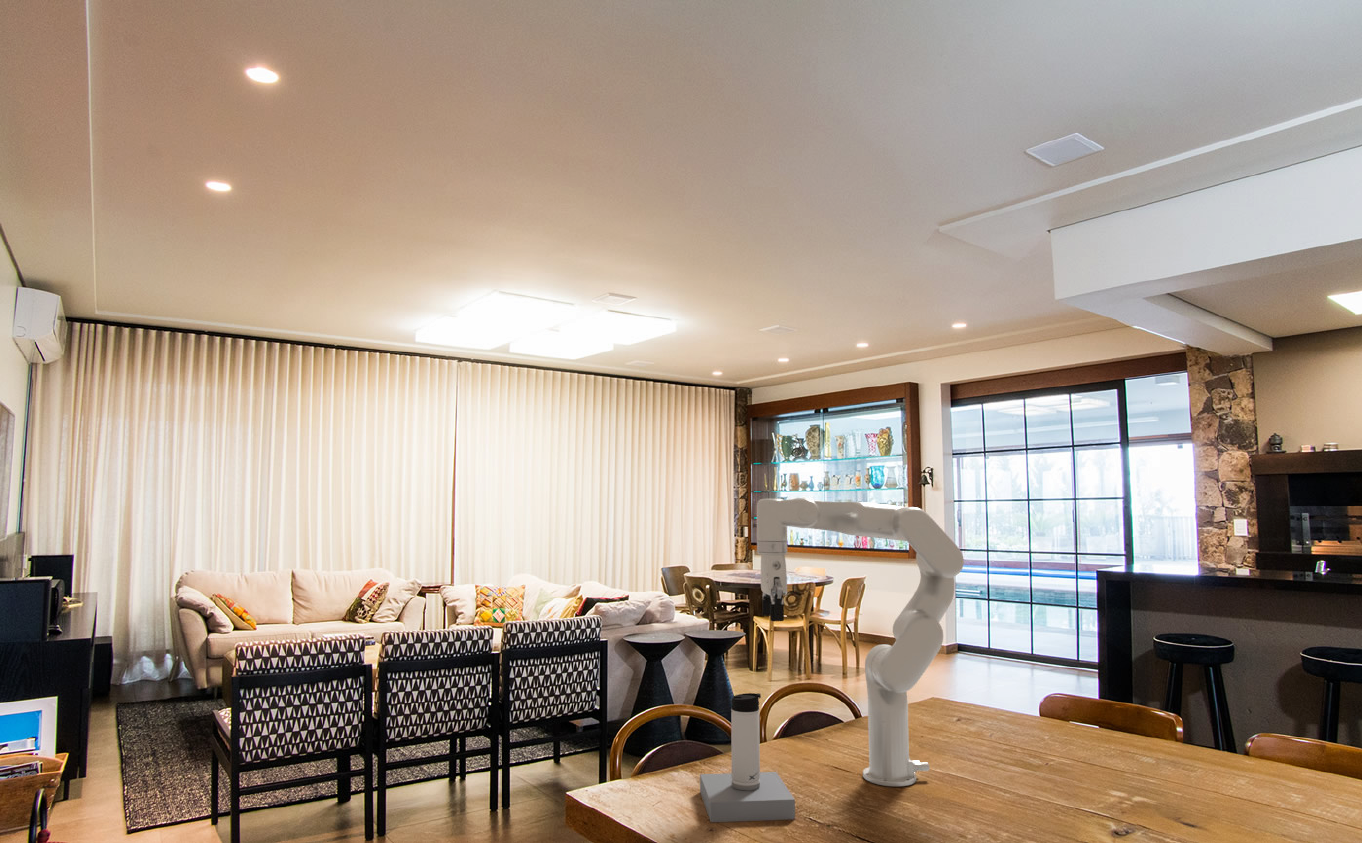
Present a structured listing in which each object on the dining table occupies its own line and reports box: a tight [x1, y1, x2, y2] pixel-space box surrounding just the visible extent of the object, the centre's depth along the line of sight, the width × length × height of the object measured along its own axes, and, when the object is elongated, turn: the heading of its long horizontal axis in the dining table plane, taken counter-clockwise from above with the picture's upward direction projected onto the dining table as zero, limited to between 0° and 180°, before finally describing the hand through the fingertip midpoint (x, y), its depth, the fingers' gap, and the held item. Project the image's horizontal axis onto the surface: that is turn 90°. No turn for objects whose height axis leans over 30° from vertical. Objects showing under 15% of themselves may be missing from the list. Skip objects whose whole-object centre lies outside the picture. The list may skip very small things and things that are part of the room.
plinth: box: [699, 771, 796, 823], centre depth 179 cm, size 18×18×4 cm
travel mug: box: [730, 692, 762, 791], centre depth 181 cm, size 6×7×20 cm
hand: (772, 618), depth 200 cm, fingers open, 9 cm apart
